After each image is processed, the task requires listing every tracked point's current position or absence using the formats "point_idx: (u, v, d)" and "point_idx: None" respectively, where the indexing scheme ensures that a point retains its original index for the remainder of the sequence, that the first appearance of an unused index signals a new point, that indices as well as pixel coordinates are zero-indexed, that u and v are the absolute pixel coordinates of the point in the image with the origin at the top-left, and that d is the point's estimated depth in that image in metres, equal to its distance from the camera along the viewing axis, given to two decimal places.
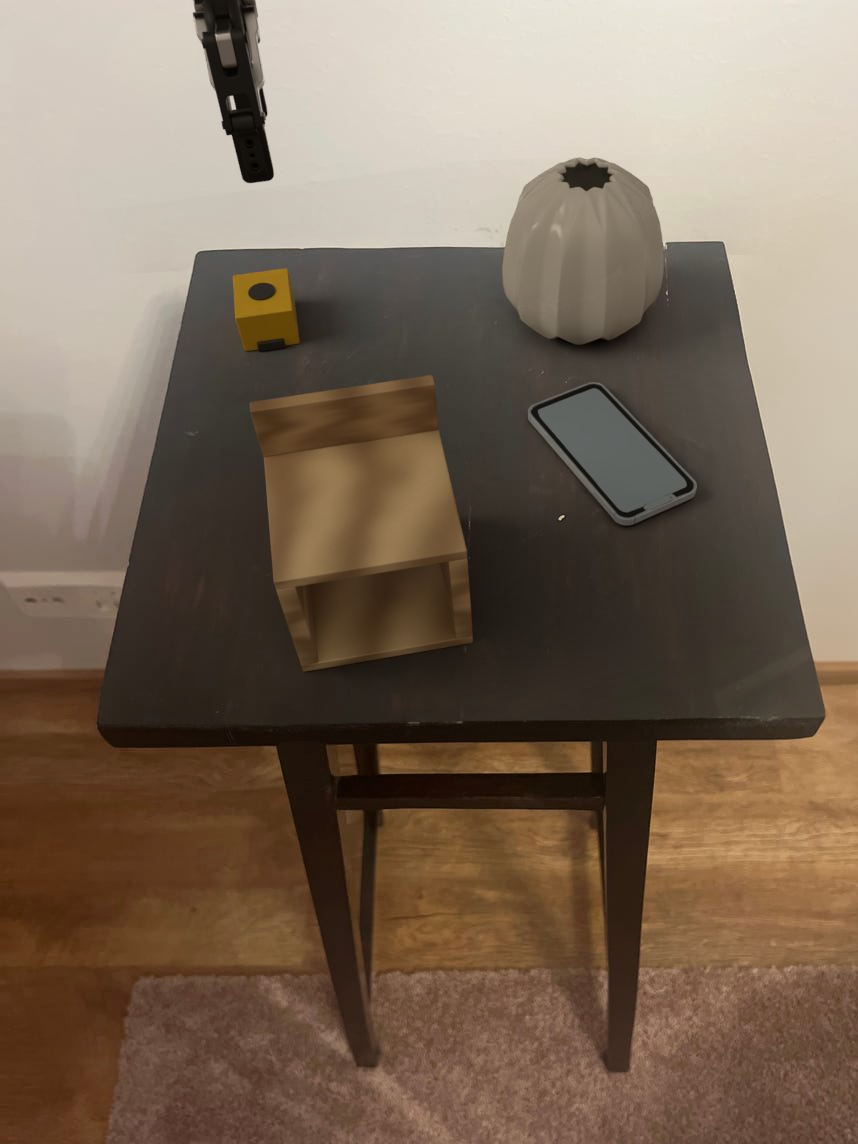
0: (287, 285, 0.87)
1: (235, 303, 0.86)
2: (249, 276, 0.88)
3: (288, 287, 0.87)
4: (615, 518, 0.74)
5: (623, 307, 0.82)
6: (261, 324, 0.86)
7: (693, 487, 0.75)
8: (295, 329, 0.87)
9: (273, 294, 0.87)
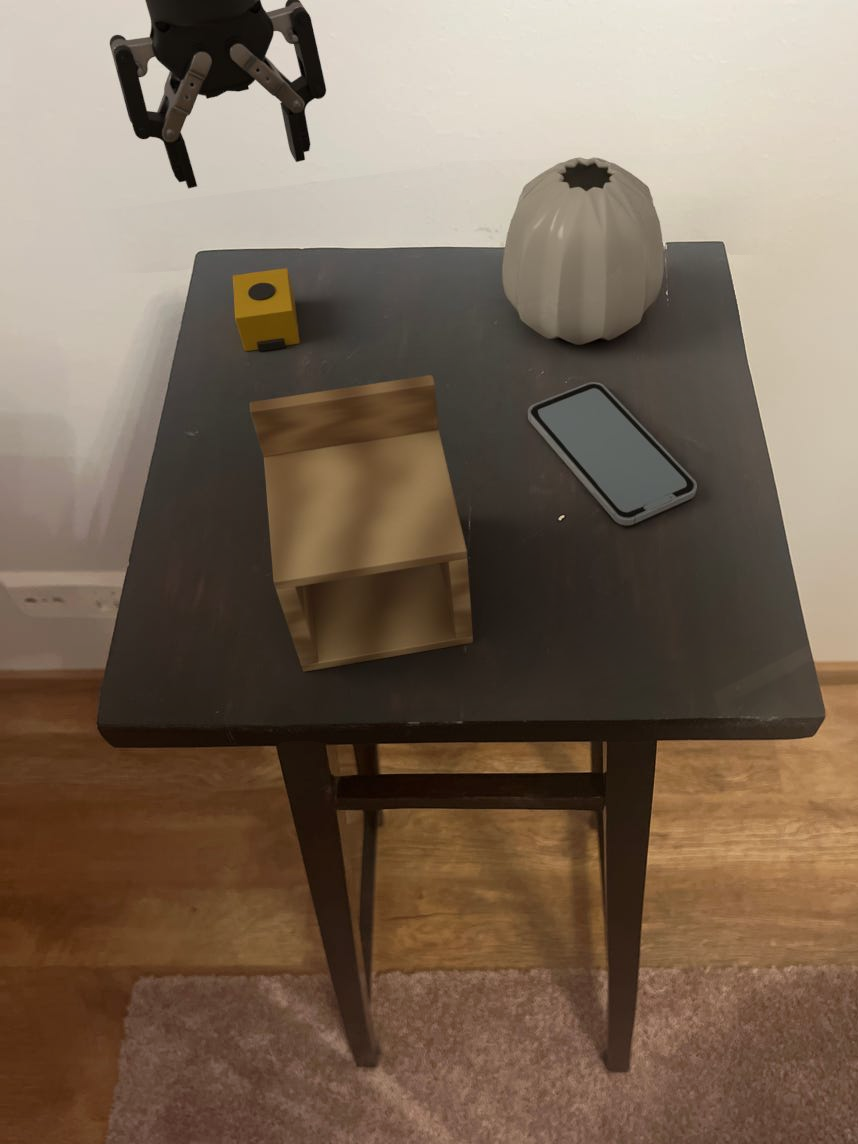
0: (287, 285, 0.87)
1: (235, 303, 0.86)
2: (249, 276, 0.88)
3: (288, 287, 0.87)
4: (615, 518, 0.74)
5: (623, 307, 0.82)
6: (261, 324, 0.86)
7: (693, 486, 0.75)
8: (295, 329, 0.87)
9: (273, 294, 0.87)
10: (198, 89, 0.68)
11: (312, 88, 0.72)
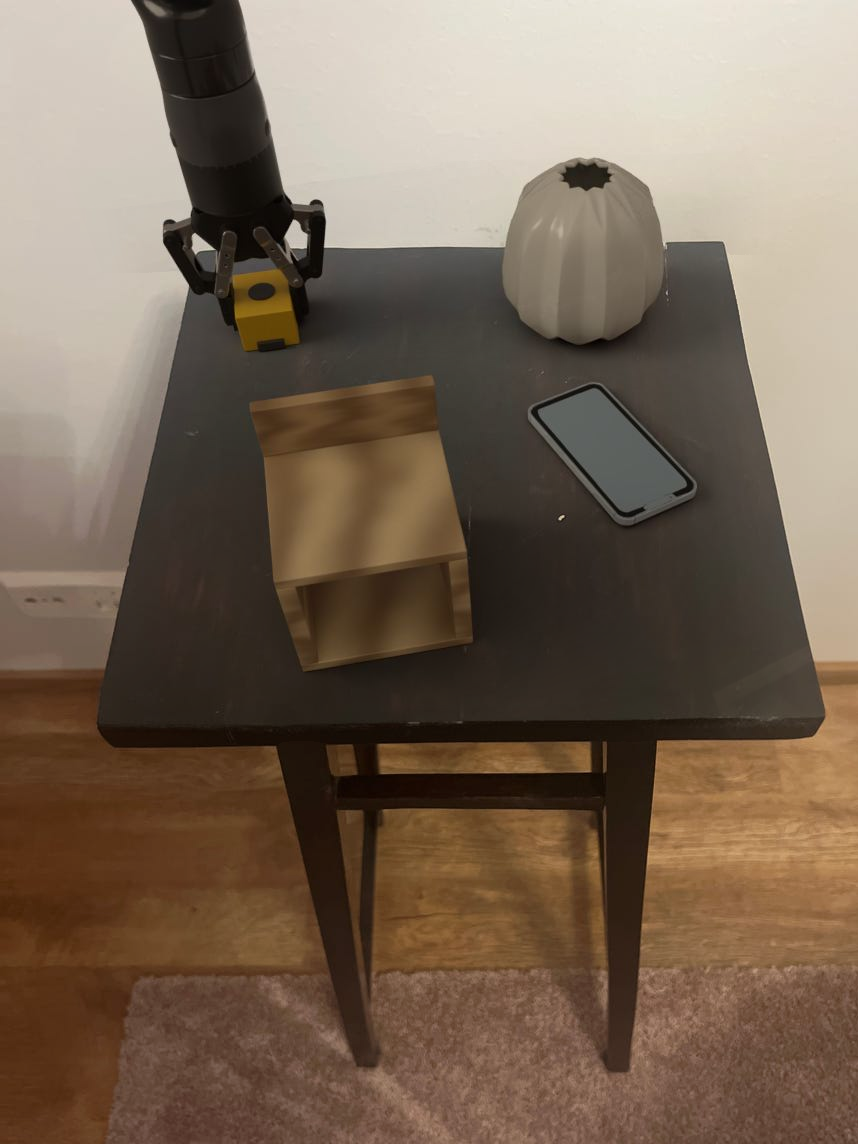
0: (287, 285, 0.87)
1: (235, 303, 0.86)
2: (249, 276, 0.88)
3: (288, 287, 0.87)
4: (615, 518, 0.74)
5: (623, 307, 0.82)
6: (261, 324, 0.86)
7: (693, 486, 0.75)
8: (295, 329, 0.87)
9: (273, 294, 0.87)
10: (226, 257, 0.82)
11: (310, 270, 0.85)
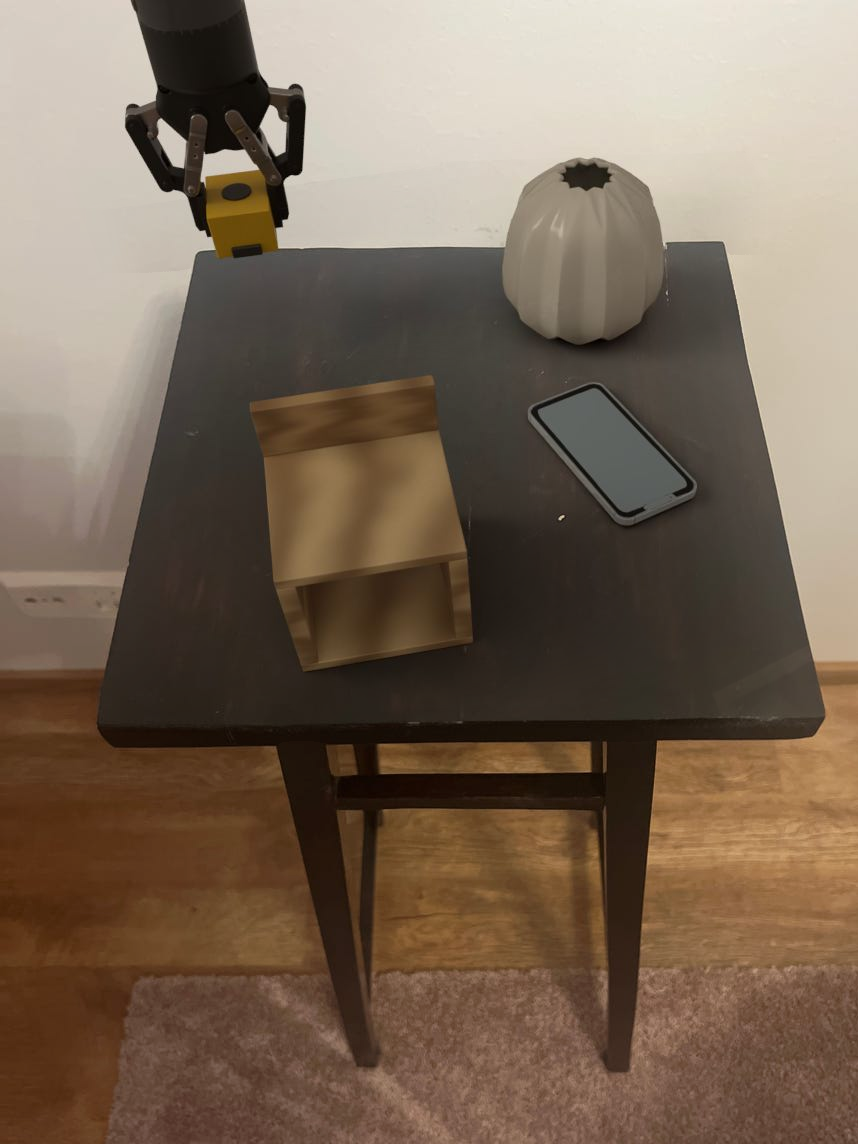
0: (265, 186, 0.80)
1: (207, 203, 0.78)
2: (223, 177, 0.81)
3: (265, 187, 0.79)
4: (615, 518, 0.74)
5: (623, 307, 0.82)
6: (235, 226, 0.78)
7: (693, 486, 0.75)
8: (273, 233, 0.79)
9: (249, 194, 0.79)
10: (195, 146, 0.74)
11: (289, 166, 0.77)
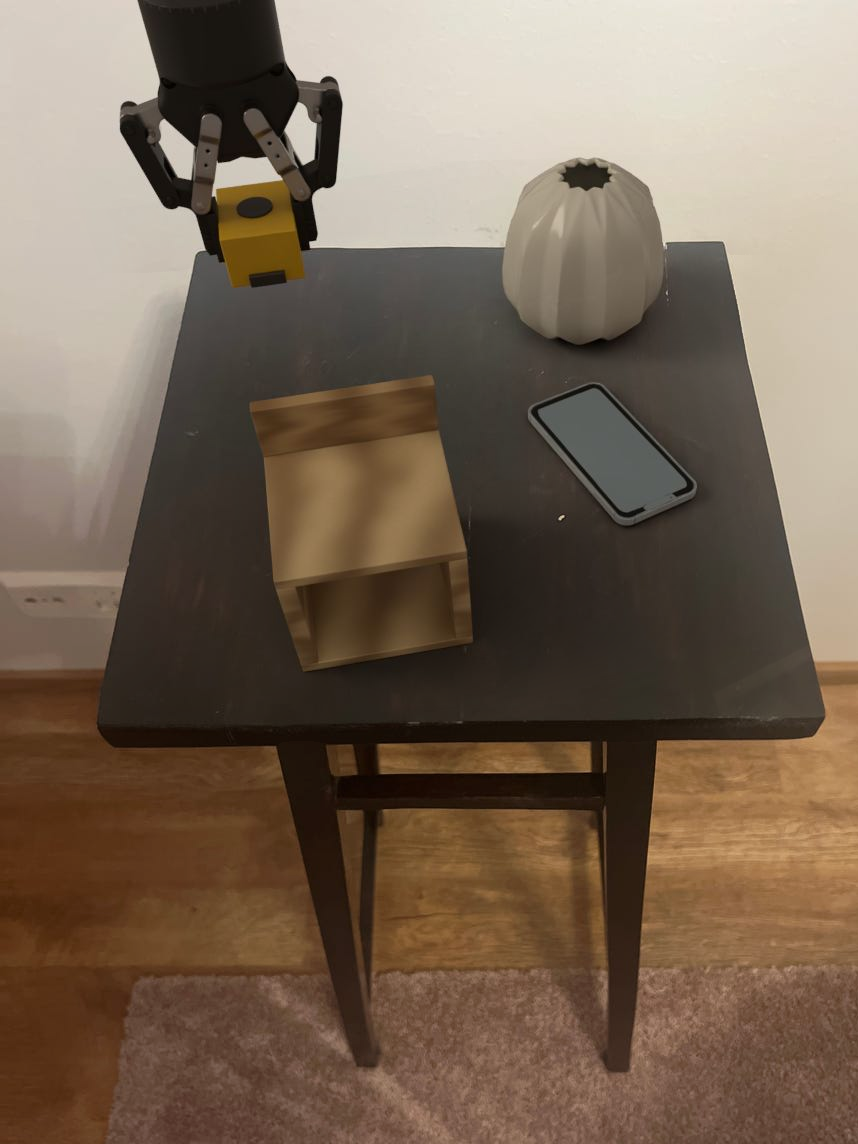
0: (289, 200, 0.66)
1: (219, 222, 0.65)
2: (238, 189, 0.67)
3: (290, 202, 0.66)
4: (615, 518, 0.74)
5: (623, 307, 0.82)
6: (254, 249, 0.64)
7: (693, 487, 0.75)
8: (300, 257, 0.65)
9: (270, 211, 0.65)
10: (206, 153, 0.60)
11: (320, 176, 0.63)
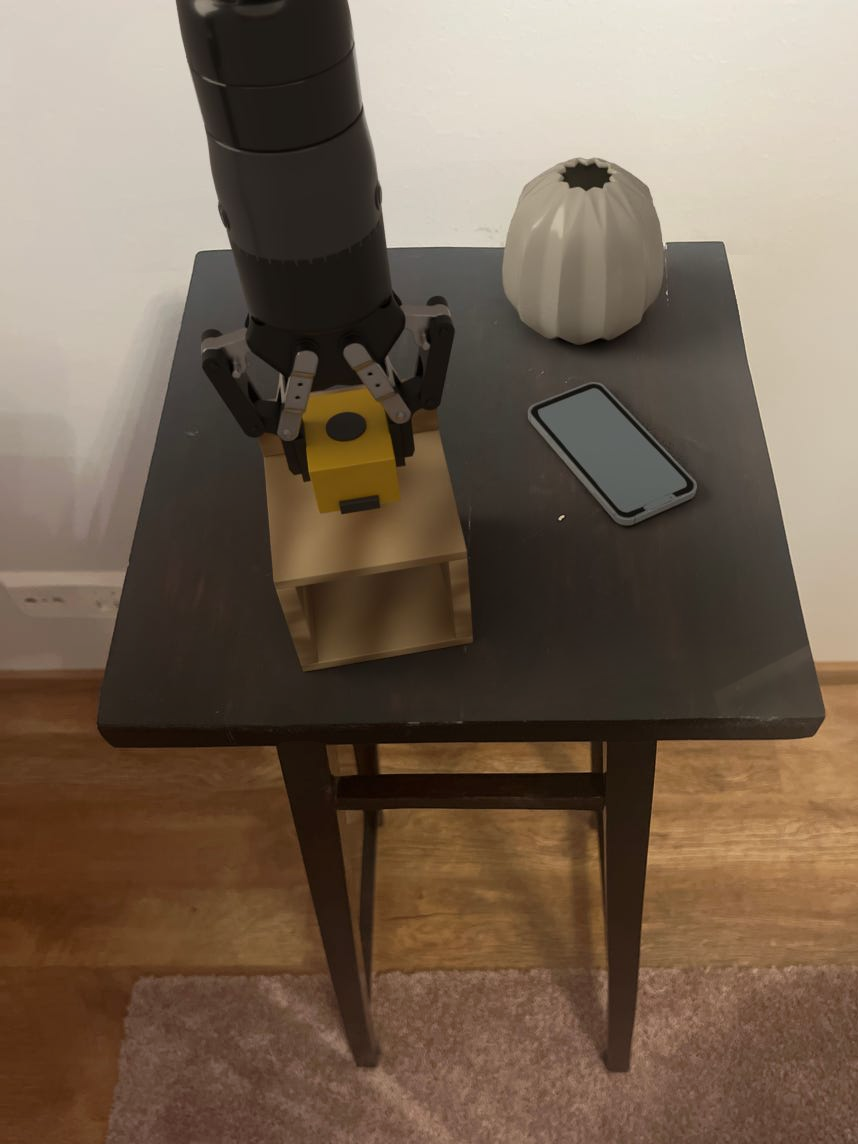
0: (384, 417, 0.58)
1: (307, 446, 0.57)
2: (325, 400, 0.59)
3: (385, 419, 0.58)
4: (615, 518, 0.74)
5: (623, 307, 0.82)
6: (346, 478, 0.57)
7: (693, 486, 0.75)
8: (396, 483, 0.58)
9: (364, 430, 0.58)
10: (298, 386, 0.53)
11: (423, 400, 0.56)
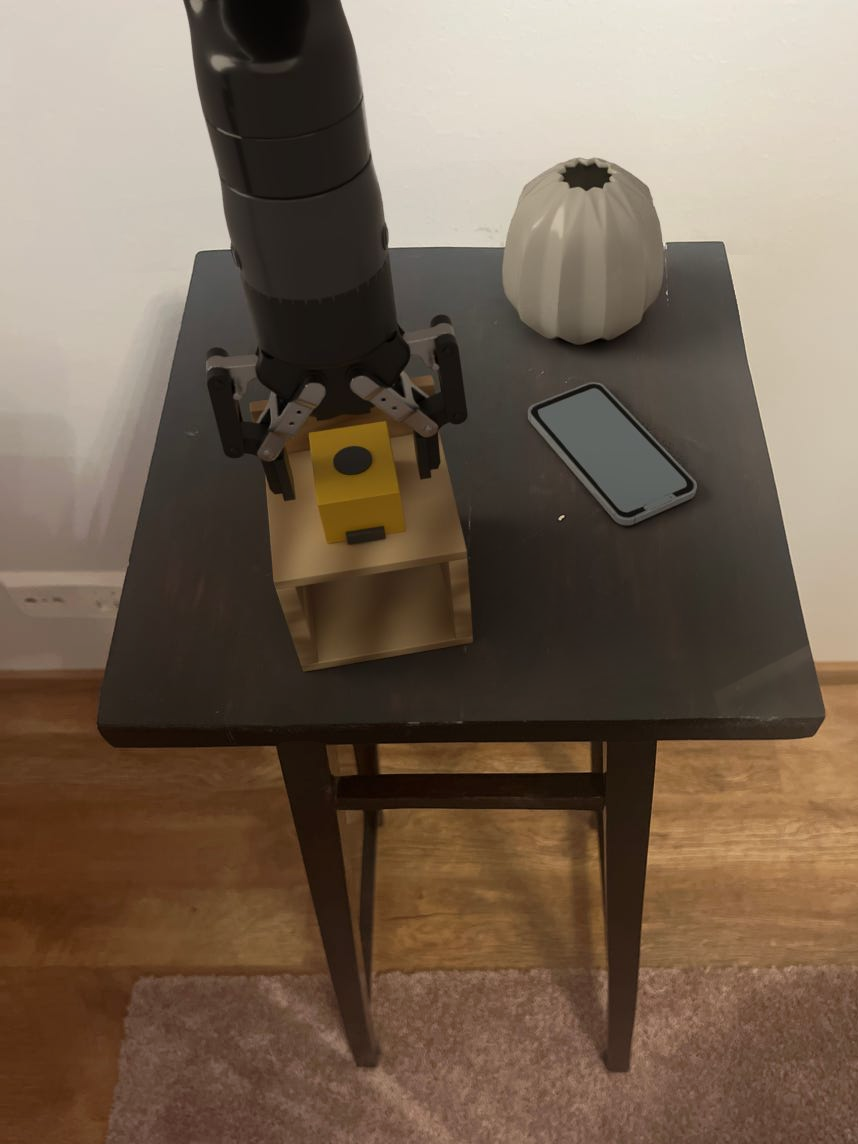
0: (389, 450, 0.61)
1: (315, 479, 0.59)
2: (333, 434, 0.62)
3: (391, 453, 0.60)
4: (615, 518, 0.74)
5: (623, 307, 0.82)
6: (353, 511, 0.59)
7: (693, 486, 0.75)
8: (401, 515, 0.60)
9: (370, 464, 0.60)
10: (306, 416, 0.54)
11: (450, 414, 0.57)
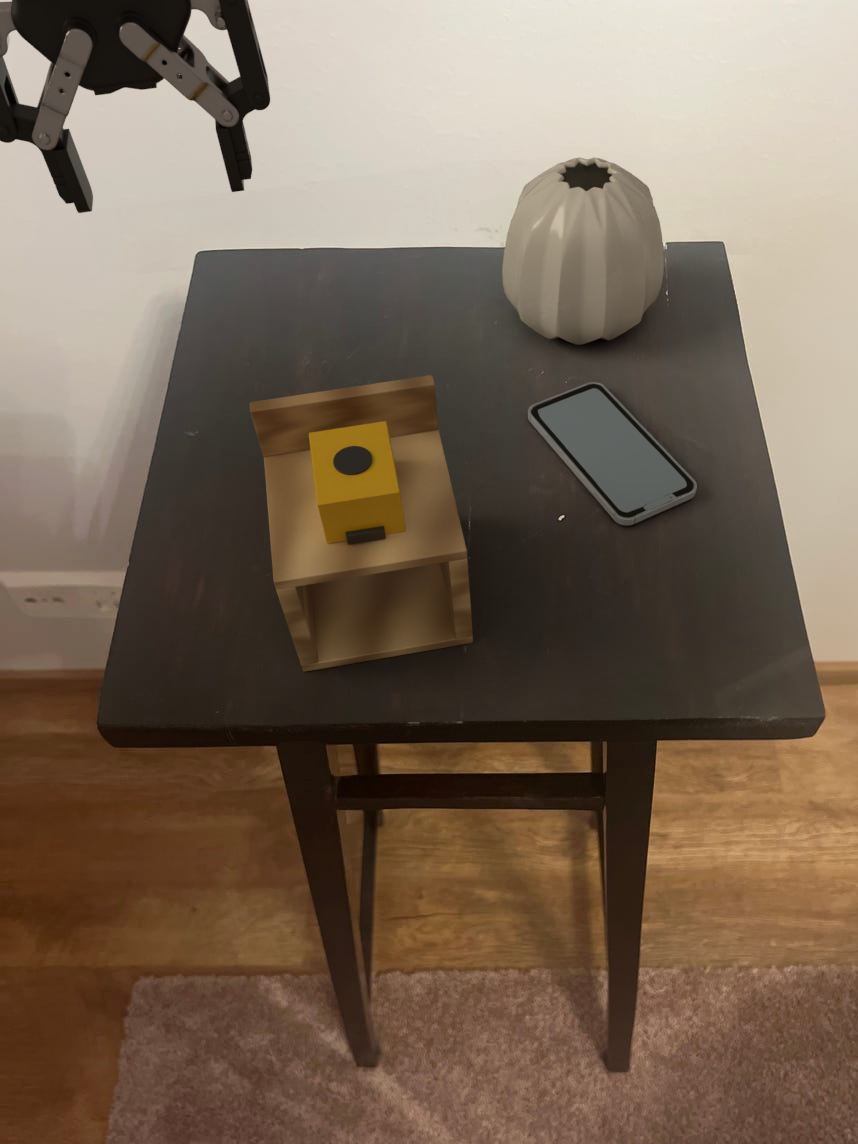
0: (389, 450, 0.61)
1: (315, 479, 0.59)
2: (333, 434, 0.62)
3: (391, 453, 0.60)
4: (615, 518, 0.74)
5: (623, 307, 0.82)
6: (353, 511, 0.59)
7: (693, 487, 0.75)
8: (401, 515, 0.60)
9: (370, 464, 0.60)
10: (77, 81, 0.48)
11: (249, 95, 0.51)
